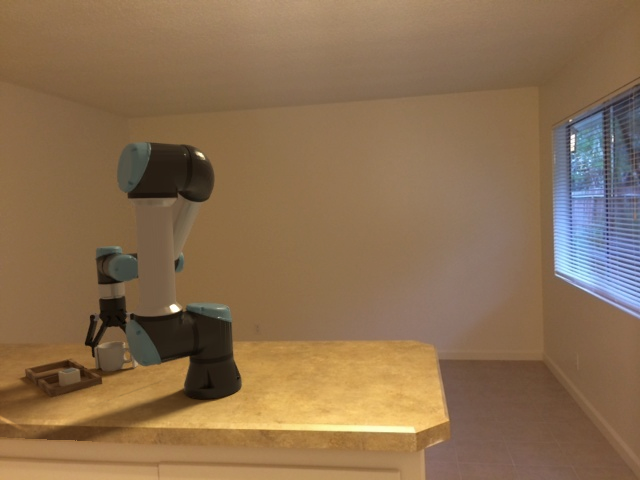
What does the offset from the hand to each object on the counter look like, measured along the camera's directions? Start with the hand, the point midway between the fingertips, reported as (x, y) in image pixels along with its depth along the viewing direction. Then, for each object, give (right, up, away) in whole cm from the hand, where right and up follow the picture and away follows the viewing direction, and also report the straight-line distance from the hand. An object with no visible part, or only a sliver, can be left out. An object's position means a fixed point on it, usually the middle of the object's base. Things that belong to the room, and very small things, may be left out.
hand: (117, 366), depth 153 cm
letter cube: (-8, -2, -14) cm, 16 cm away
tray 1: (-17, -2, -3) cm, 18 cm away
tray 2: (-8, -2, -13) cm, 16 cm away
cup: (0, -1, 0) cm, 1 cm away
